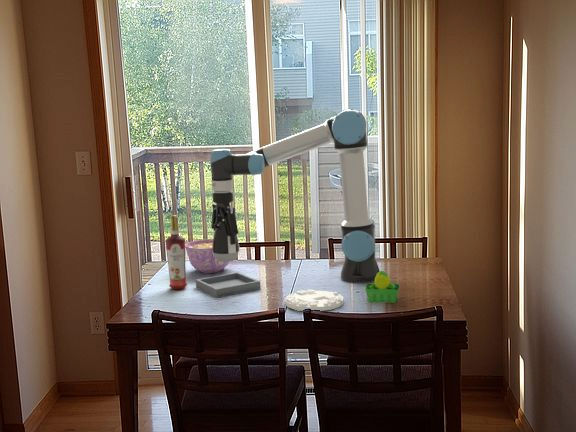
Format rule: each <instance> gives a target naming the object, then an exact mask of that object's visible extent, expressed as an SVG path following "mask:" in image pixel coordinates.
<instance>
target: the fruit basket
mask: <svg viewBox="0 0 576 432" xmlns="http://www.w3.org/2000/svg"><path fill="white" fill-rule="evenodd" d="M373 282H374V283H372V282H371V283H370V282H367V283H366V286H365V287H364V290H365V292H366V294H367V295H366V296H367V299H368V302H369V303H379V302H382V303H383V302H391V303H392V304H395V303H396V302H397V299H398V294H399V290H400V287H401V285H400V284H399V283H392V282H391V277H389V275H388V274H387V272H386V271H385V270H380V272H378V273H377V275H376V277H375V280H374V281H373Z"/></svg>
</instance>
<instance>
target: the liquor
mask: <svg viewBox="0 0 576 432" xmlns="http://www.w3.org/2000/svg"><path fill="white" fill-rule="evenodd" d="M169 219H170V220H169V221H170V236H169V237H167V238H166V239H165V242H164V243H165V249H166V258H167V264H168V265H167V267H168V274H169V285H168V287H169V288H170V289H172V290H173V291H181V290H182V291H183V290H184V289H185V288H187V286H188V283H187V276H186V274H187V273H186V271H187V270H186V248H185V244H186V238H184V237H183V236H181V235H180V233H179V229H178V228H179V227H178V215H176V214H174V215H170V216H169Z"/></svg>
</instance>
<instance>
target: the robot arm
mask: <svg viewBox="0 0 576 432" xmlns="http://www.w3.org/2000/svg"><path fill="white" fill-rule="evenodd" d="M329 144H334V150H335V151H336V152H337V153H338V154H339V166H340V176H341V177H340V178H341V179H340V180H341V189H342V191H341V192H342V201H343V205H342V206H343V214H344V220H343V221H342V222H341V223H340V228H341V229H340V230H341V231H340V233H341V246H340V247H341V250H342V253H343V255H344V261H343V263H342V267H341V270H340V279H341V280H342V281H344V282H348V283H349V282H350V283H370V282H371V283H372V282H375V281H374V280H375V277H376V275H377V273H378V272H380V271H381V270H380V268H379V265H378V263H377V262H378V261H377V259H376V236H375V235H376V234H375V232H376V231H375V228H376V225H375V221H374V219H372V218H369V207H368V197H367V195H368V194H367V183H366V179H367V178H366V172H365V171H366V168H365V157H364V156H365V155H364V152H365V150H366V149H367V148H368V139H367V121H366V118H365V116H364V114H363V113H362V112H360V111H359V110H357V109H353V108H348V109H343V110H342V111H340V112H338V113H337V114H336V115H334V116H332V117H331V118H328V119H326V120H325V122H324V123H322V124H320V125H317V126H315V127H312V128H309V129H306V130H304V131H302V132H299V133H297V134H294V135H291V136H288V137H286V138H283V139H281V140H278V141H275V142H273V143H270V144H268V145H265V146H262V147H260V148H257V149H254V150H251V151H249V152H248V153H245V154H243V153H242V154H241V153H240V154H232V151H231V150H230V149H229V148H218V149H213V150H211V151H210V172H211V173H210V174H211V183H210V186H211V189H212V191H213V192H212V202H213V203H214V204H212V205H211V206H212V215H211V216H212V217H211V229H212V230H213V232H215V229H216V228H215V227H213V225H214V224H216V225H218V223H219V222H220V221H223V220H225V224H226V227H227V230H228V235H227V236H228V253H229V254H230V253H236V243H235V235H239V228H238V224H237V218H236V210H235V209H236V208H235V207H231V203H232V202H233V201H234V193H233V190H234V189H233V185H234V184H233V176H257V175H263V174H264V172H265V169H266V168H268V167H270V166H273V165H275V164H278V163H280V162H283V161H286V160H288V159H291V158H294V157H297V156H299V155H303V154H305V153H308V152H311V151H313V150H315V149H318V148H321V147H323V146H326V145H329Z"/></svg>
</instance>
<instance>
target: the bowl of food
mask: <svg viewBox="0 0 576 432" xmlns="http://www.w3.org/2000/svg"><path fill="white" fill-rule="evenodd" d="M212 243H213V238H206V239H198V240H197V239H196V240H193V241H189V242H187V243H186V242H185V252H186V254H187V257H188V260H189V263H190V265H191V266H192V267H193V269H195V270H197V271H200V272H201V273H204V274H212V273H214V274H215V273H219V272H220V271H221V270H223V269H224V268H226V267H228V265H229V263H230V262H231V261H229V262H221V261H219V260H217V259H216V258H215V256H214V254H213V252H212Z"/></svg>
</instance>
